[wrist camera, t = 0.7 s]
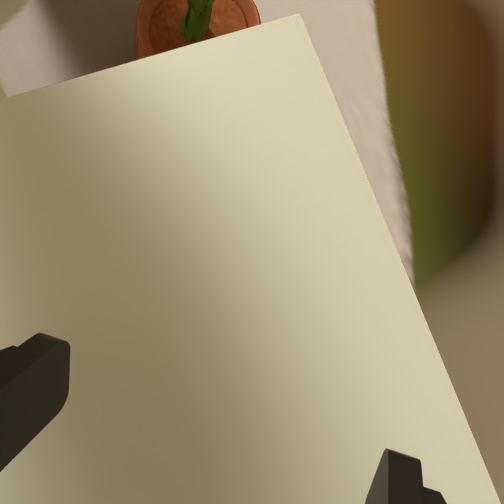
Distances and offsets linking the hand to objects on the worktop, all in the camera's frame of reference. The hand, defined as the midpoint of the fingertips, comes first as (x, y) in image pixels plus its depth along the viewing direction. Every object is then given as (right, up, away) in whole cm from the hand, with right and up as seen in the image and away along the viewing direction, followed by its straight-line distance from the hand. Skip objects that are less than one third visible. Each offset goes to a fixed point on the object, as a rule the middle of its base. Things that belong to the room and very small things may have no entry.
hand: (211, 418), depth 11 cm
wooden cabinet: (-1, -4, +24) cm, 24 cm away
